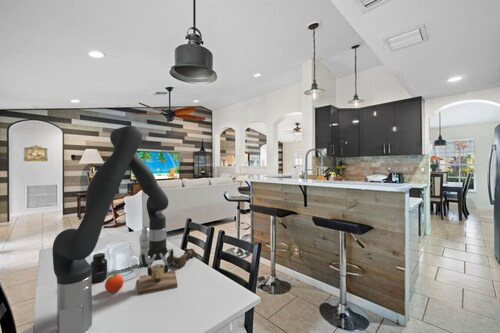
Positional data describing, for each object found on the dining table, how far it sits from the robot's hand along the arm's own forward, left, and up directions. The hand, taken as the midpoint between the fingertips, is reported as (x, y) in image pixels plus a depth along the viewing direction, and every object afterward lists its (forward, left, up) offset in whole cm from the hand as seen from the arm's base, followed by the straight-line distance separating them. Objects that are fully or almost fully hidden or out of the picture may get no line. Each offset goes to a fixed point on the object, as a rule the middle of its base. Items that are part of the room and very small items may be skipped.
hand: (157, 273), depth 107 cm
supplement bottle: (+14, +26, -5) cm, 30 cm away
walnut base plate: (0, 0, -4) cm, 4 cm away
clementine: (0, +18, -5) cm, 19 cm away
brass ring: (0, 0, -1) cm, 1 cm away
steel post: (0, 0, -3) cm, 3 cm away
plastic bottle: (+24, +6, -5) cm, 25 cm away
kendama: (+19, -12, -5) cm, 23 cm away
